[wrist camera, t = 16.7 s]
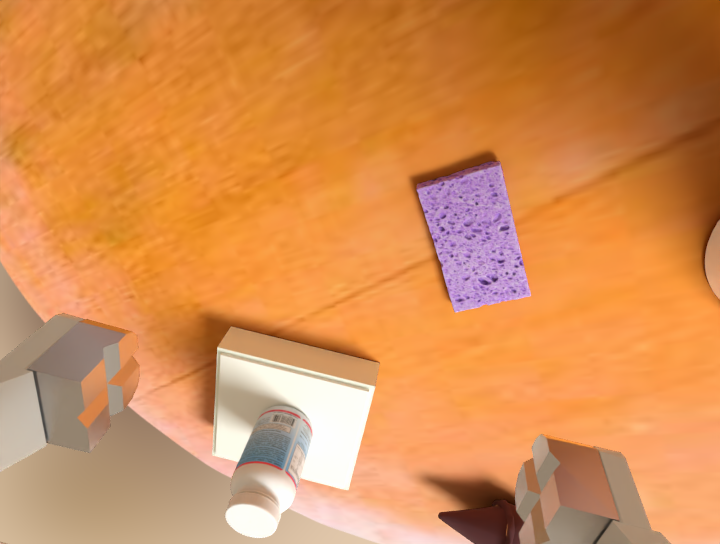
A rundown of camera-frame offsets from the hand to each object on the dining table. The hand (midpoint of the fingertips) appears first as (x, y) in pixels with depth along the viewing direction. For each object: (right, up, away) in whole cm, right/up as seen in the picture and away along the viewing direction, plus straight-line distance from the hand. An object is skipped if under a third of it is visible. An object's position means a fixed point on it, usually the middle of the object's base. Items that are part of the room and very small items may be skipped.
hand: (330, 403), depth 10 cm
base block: (-7, -12, +47) cm, 49 cm away
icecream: (+17, -25, +51) cm, 59 cm away
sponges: (+11, +6, +35) cm, 37 cm away
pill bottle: (-7, -13, +44) cm, 47 cm away
